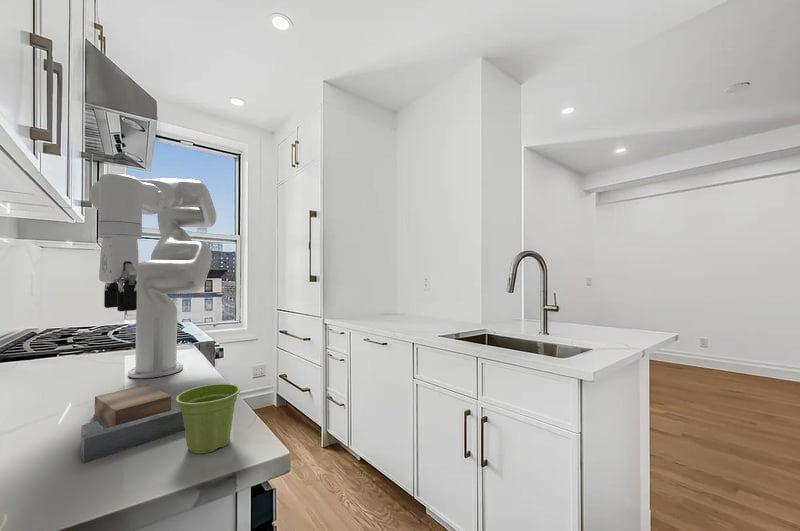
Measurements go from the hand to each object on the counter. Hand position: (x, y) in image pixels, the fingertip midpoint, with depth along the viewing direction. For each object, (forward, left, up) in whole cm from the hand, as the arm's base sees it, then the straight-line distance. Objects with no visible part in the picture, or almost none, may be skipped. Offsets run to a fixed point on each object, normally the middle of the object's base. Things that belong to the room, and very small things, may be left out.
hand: (120, 308), depth 77 cm
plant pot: (+36, +4, -21) cm, 41 cm away
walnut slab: (+11, 0, -21) cm, 24 cm away
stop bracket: (+23, 0, -20) cm, 30 cm away
